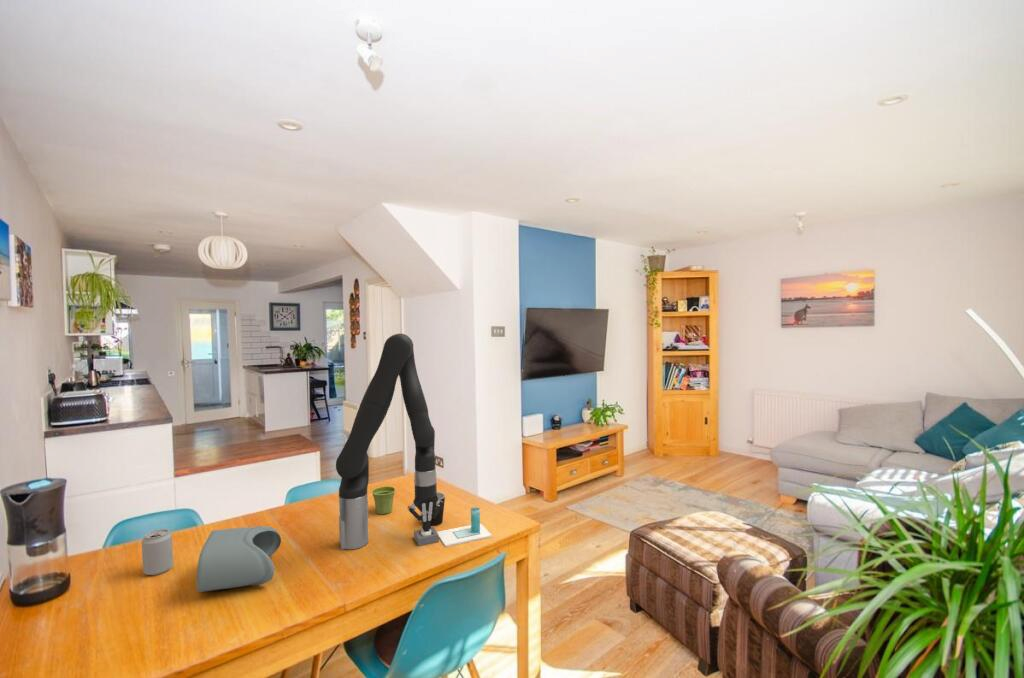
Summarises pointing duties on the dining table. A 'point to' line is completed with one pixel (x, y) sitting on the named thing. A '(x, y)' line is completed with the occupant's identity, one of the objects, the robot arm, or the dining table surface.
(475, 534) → the sheet
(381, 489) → the plant pot
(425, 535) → the button
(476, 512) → the marker
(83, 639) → the dining table surface
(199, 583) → the grey scooped bin
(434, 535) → the button frame
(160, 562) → the can
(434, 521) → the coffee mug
